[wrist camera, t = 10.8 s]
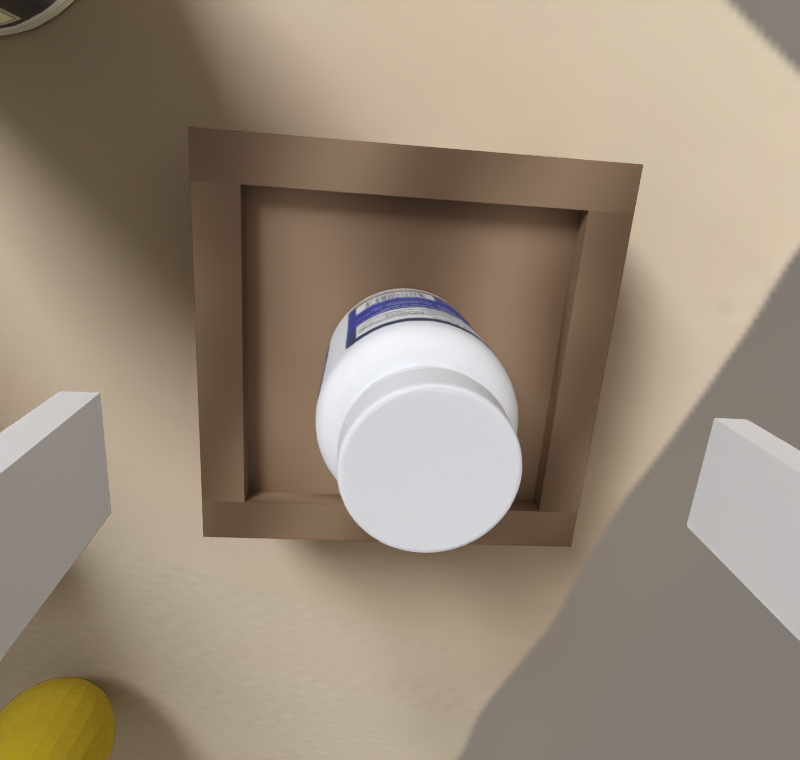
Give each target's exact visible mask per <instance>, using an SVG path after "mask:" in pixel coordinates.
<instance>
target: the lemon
mask: <svg viewBox="0 0 800 760" xmlns="http://www.w3.org/2000/svg"><path fill="white" fill-rule="evenodd" d="M114 736H115V717H114V713H113V709H112V706H111V703H110V701H109V700H108V698H107V696H106V695H105V693H104V692H103V691H102V690H101V689H100V688H98V687H97V686H96V685H94V684H93V683H91V682H89V681H87V680H84V679H81V678H75V677H61V678H54V679H50V680H46V681H43V682H40V683H38V684H37V685H35V686H33V687H31V688H29V689H27V690H25V691H24V692H22V693H21V694H19V695H18V696H17V697H16V698H14V699H13V700H12V701H11V702H10V703H9V704H8V705H7V706H6V707H5V708H4V709H3V710H2V711H1V712H0V760H109V758H110V755H111V752H112V748H113V744H114Z"/></svg>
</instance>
